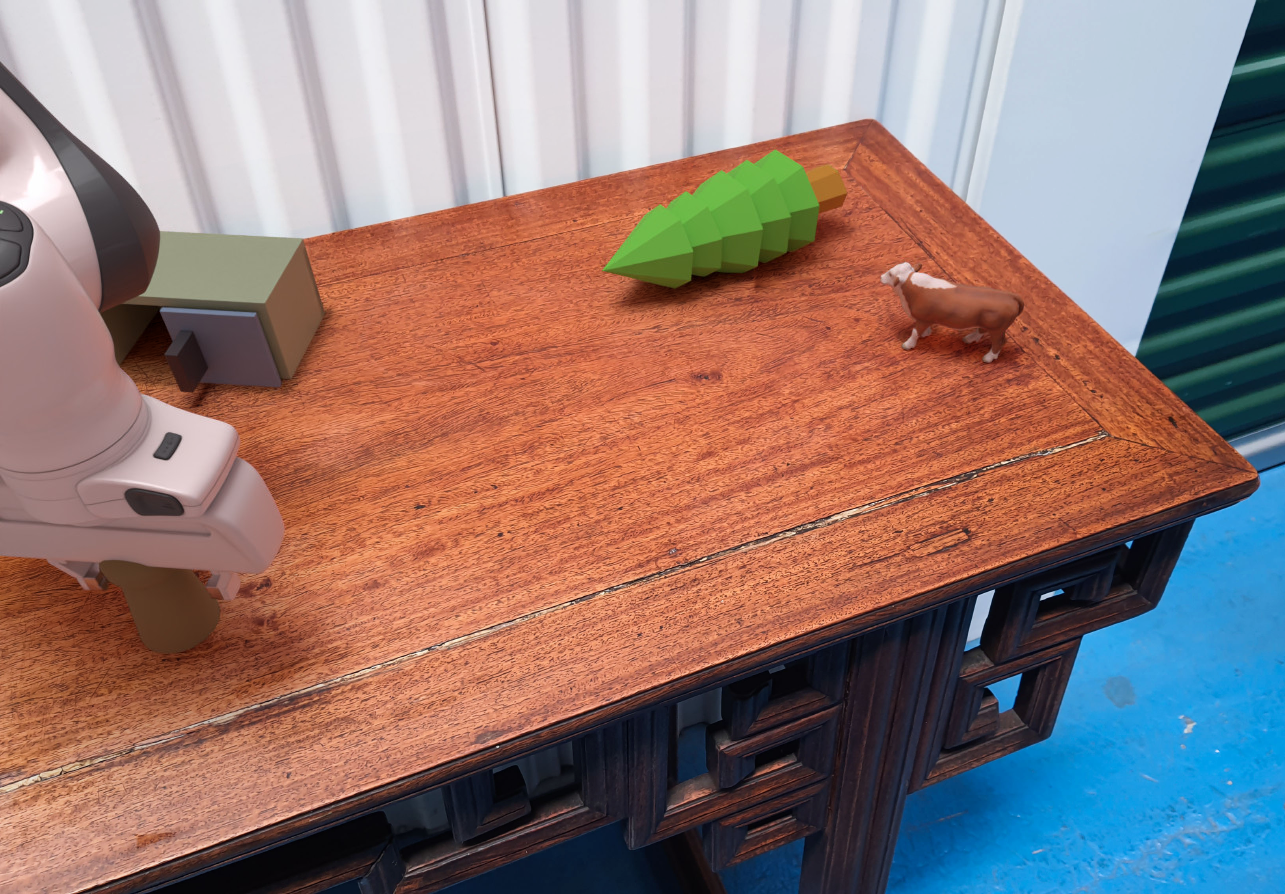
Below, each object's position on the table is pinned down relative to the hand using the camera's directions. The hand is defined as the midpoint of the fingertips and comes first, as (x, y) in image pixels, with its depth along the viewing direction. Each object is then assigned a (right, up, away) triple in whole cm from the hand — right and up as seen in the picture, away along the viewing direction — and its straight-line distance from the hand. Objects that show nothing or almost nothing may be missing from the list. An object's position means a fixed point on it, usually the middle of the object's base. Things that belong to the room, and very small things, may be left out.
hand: (164, 587), depth 71 cm
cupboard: (-7, +20, +27) cm, 34 cm away
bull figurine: (+63, +20, +27) cm, 72 cm away
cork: (0, -4, +4) cm, 5 cm away
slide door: (-4, +15, +20) cm, 26 cm away
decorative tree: (+42, +29, +36) cm, 63 cm away
